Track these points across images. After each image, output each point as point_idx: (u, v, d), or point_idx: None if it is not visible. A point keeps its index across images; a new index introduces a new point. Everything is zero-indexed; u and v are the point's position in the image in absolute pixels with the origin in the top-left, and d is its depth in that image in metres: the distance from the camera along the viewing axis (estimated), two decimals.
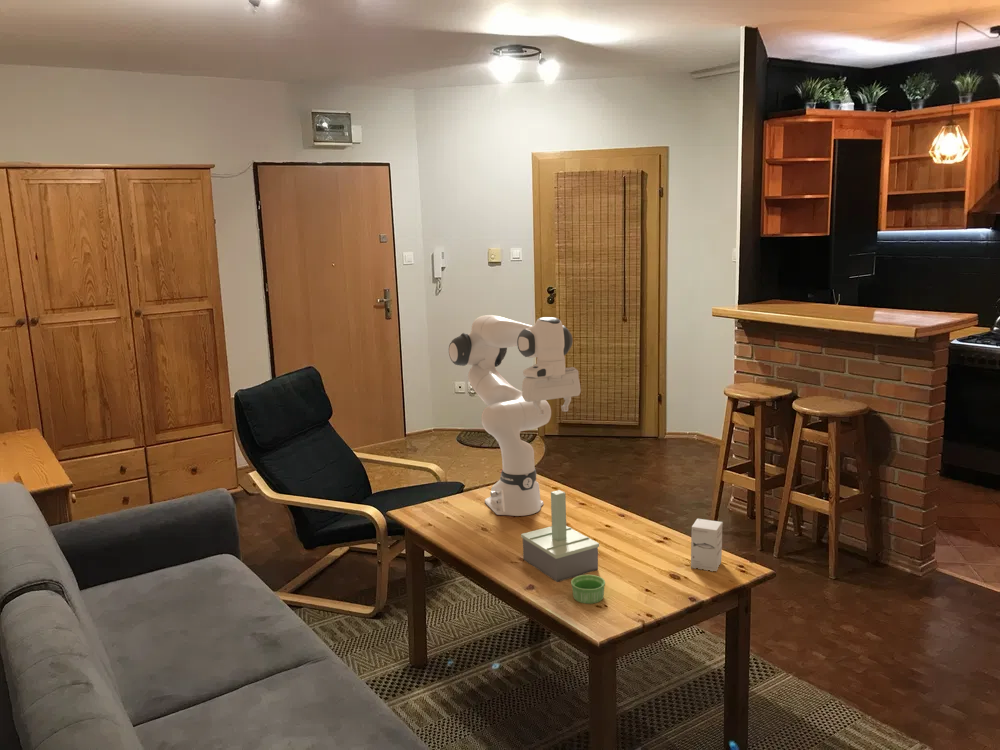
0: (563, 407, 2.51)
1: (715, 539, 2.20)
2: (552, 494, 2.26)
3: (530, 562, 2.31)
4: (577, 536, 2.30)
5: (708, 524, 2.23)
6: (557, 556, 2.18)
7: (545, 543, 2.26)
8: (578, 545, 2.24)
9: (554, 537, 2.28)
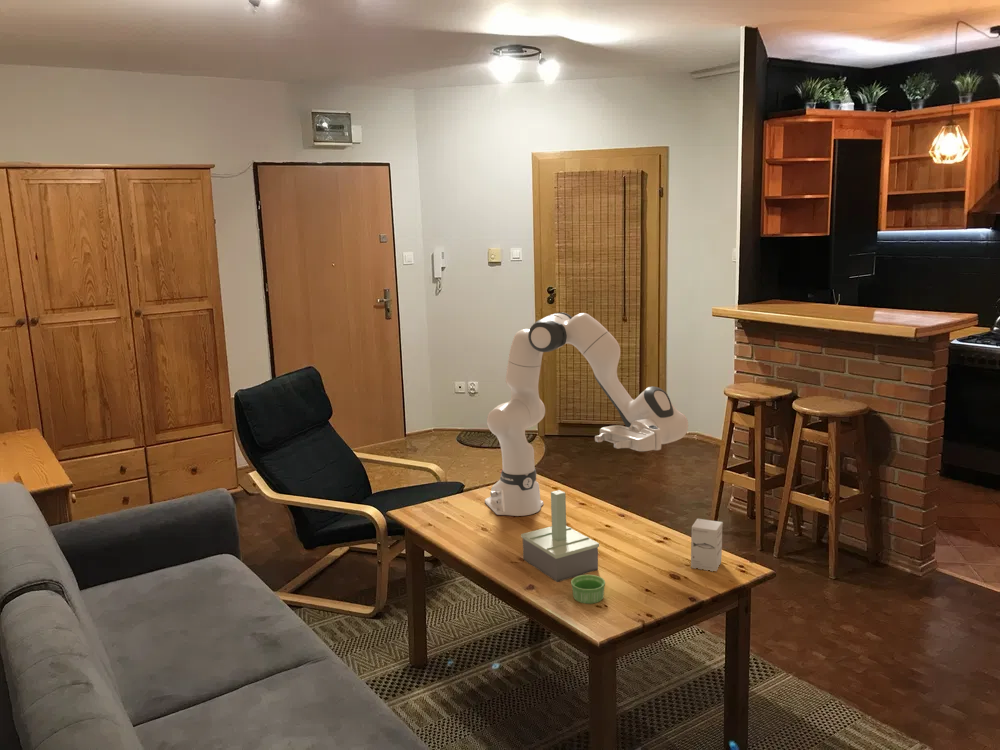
0: (601, 439, 2.39)
1: (715, 539, 2.20)
2: (552, 494, 2.26)
3: (530, 562, 2.31)
4: (577, 536, 2.30)
5: (708, 524, 2.23)
6: (557, 556, 2.18)
7: (545, 543, 2.26)
8: (578, 545, 2.24)
9: (554, 537, 2.28)
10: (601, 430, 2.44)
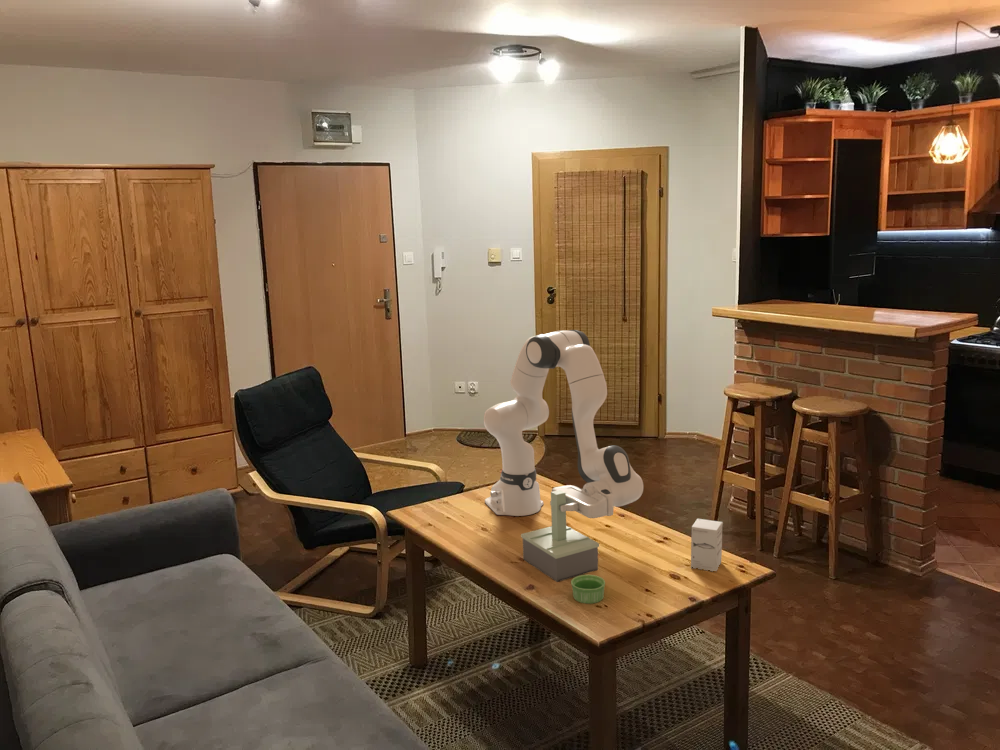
0: None
1: (715, 539, 2.20)
2: (552, 494, 2.27)
3: (530, 562, 2.31)
4: (577, 536, 2.30)
5: (708, 524, 2.23)
6: (557, 556, 2.18)
7: (545, 543, 2.26)
8: (578, 545, 2.24)
9: (554, 537, 2.29)
10: None
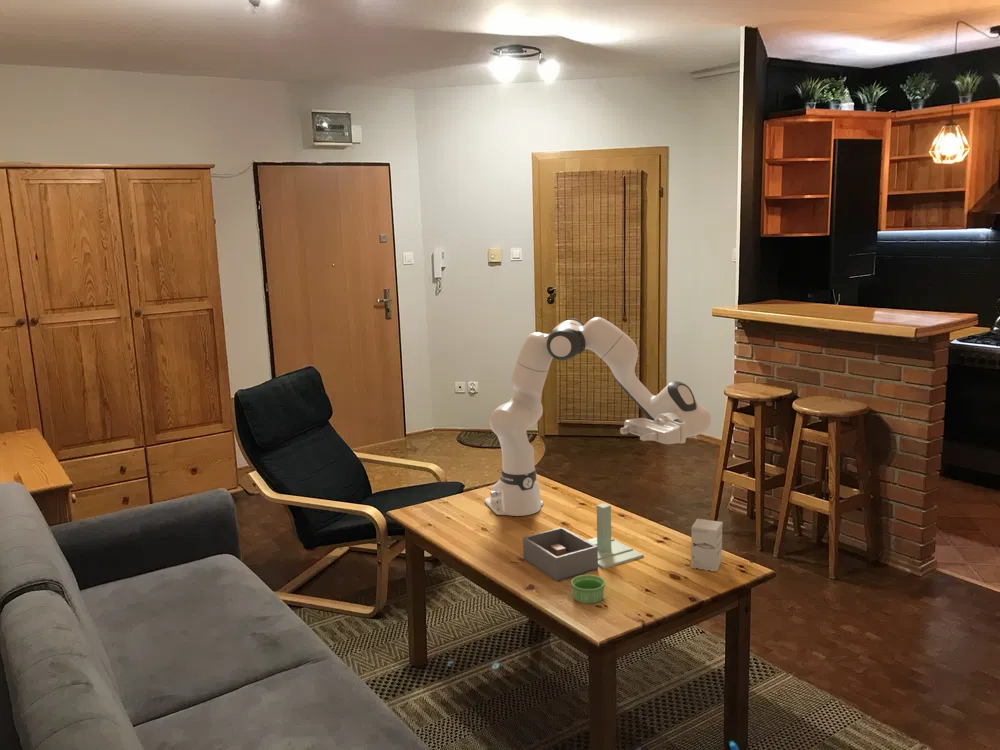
0: (626, 431, 2.44)
1: (715, 539, 2.20)
2: (598, 507, 2.36)
3: (530, 562, 2.31)
4: (622, 548, 2.39)
5: (708, 524, 2.23)
6: (604, 567, 2.27)
7: None
8: (623, 556, 2.33)
9: (599, 548, 2.38)
10: (626, 422, 2.49)
